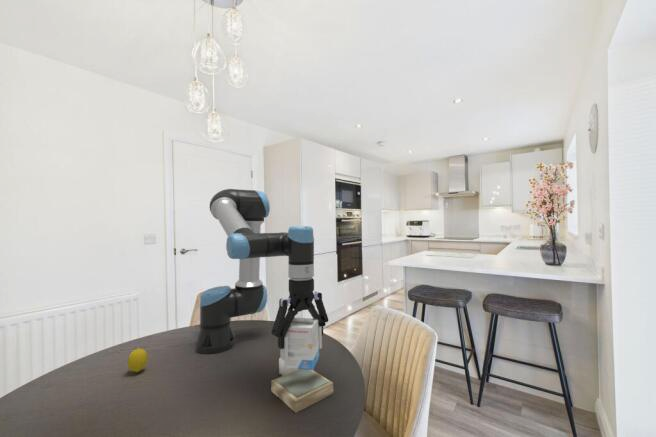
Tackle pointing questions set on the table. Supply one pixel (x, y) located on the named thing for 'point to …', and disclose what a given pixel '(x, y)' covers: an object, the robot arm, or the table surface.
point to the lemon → (137, 360)
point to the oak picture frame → (301, 388)
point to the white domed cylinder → (283, 370)
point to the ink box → (302, 344)
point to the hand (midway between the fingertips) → (301, 353)
